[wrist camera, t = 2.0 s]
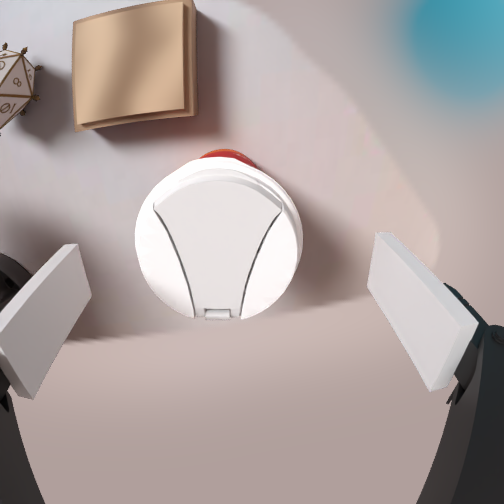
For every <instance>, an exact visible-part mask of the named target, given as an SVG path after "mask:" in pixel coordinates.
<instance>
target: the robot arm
mask: <svg viewBox="0 0 504 504" xmlns="http://www.w3.org/2000/svg"><path fill="white" fill-rule="evenodd" d="M367 288H368V290H369V291H370V293H371V294H372V296H373V297H374V299H375V300H376V302H377V304H378V305H379V307H380V308H381V310H382V312H383V313H384V315H385V316H386V318H387V320H388V321H389V323H390V324H391V326H392V328H393V329H394V331H395V333H396V334H397V336H398V338H399V339H400V341H401V342H402V344H403V346H404V348H405V349H406V351H407V353H408V355H409V356H410V358H411V360H412V362H413V363H414V365H415V367H416V369H417V370H418V372H419V374H420V376H421V378H422V379H423V381H424V383H425V385H426V387H427V388H428V390H429V392H432V391H435V390H438V389H442V388H445V387H447V386H448V384H449V382H450V381H451V379H452V377H453V375H455V376H456V378H457V380H458V381H459V382H458V384H457V386H456V387H455V389H454V390H453V392H452V394H451V396H450V397H449V399H448V401H447V402H446V404H449V403H450V401H451V400H452V402H451V406H450V410H449V414H448V418H447V421H446V425H445V428H444V431H443V435H442V438H441V441H440V444H439V447H438V450H437V453H436V456H435V459H434V461H433V464H432V467H431V470H430V472H429V475H428V477H427V480H426V482H425V485H424V487H423V489H422V492H421V494H420V497H419V499H418V501H417V503H416V504H504V327H502V326H498V325H490V326H489V325H488V324H487V323H486V322H485V321H484V320H483V318H482V317H481V316H480V315H479V314H478V313H477V312H476V311H475V310H474V308H472V306H469V303H468V302H467V301H466V300H465V299H463V297H462V296H461V295H460V294H459V293H458V291H457V290H456V289H454V288H452V287H451V286H449V285H447V284H446V283H442V282H441V281H440V280H439V279H438V278H437V277H436V276H435V275H434V274H433V273H432V272H431V271H430V270H429V269H428V268H427V267H426V266H425V265H424V264H423V263H422V262H421V261H420V260H419V259H418V258H417V257H416V256H415V255H414V254H413V253H412V252H411V251H410V250H409V249H408V248H407V247H406V246H405V245H404V244H403V243H402V242H401V241H400V240H398V239H397V238H396V237H395V236H394V235H393V234H392V233H391V232H377V233H375V240H374V247H373V253H372V259H371V265H370V271H369V277H368V282H367ZM91 297H92V293H91V290H90V287H89V283H88V280H87V276H86V273H85V269H84V265H83V261H82V258H81V254H80V250H79V245H78V244H65V245H64V246H62V247H61V248H60V249H59V250H58V251H57V252H56V253H55V254H54V255H53V256H52V257H51V258H50V259H49V260H48V261H47V262H46V263H45V264H44V265H43V266H42V267H41V268H40V269H39V271H38V272H37V273H36V274H35V275H34V276H33V277H31V276H30V275H29V274H28V272H27V271H26V270H25V269H24V268H23V267H21V266H20V265H19V264H18V263H17V262H15V261H14V260H12V259H11V258H9V257H7V256H5V255H3V254H0V504H45V502H44V500H43V498H42V495H41V493H40V490H39V488H38V485H37V483H36V481H35V478H34V475H33V472H32V469H31V467H30V464H29V461H28V458H27V455H26V452H25V448H24V445H23V442H22V439H21V435H20V431H19V428H18V424H17V420H16V416H15V412H14V407H13V403H12V398H11V396H10V394H9V393H8V391H7V390H8V388H9V386H10V385H11V386H12V387H13V389H14V390H15V392H16V393H17V395H18V396H21V397H24V398H28V399H32V400H33V399H34V397H35V395H36V394H37V392H38V390H39V388H40V385H41V384H42V382H43V380H44V378H45V376H46V374H47V372H48V370H49V368H50V367H51V364H52V363H53V361H54V359H55V357H56V356H57V354H58V352H59V350H60V348H61V347H62V345H63V343H64V341H65V340H66V338H67V336H68V335H69V333H70V331H71V329H72V328H73V326H74V324H75V323H76V321H77V319H78V318H79V316H80V315H81V313H82V311H83V310H84V308H85V306H86V305H87V303H88V302H89V300H90V299H91Z"/></svg>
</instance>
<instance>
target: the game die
mask: <svg viewBox="0 0 504 504" xmlns="http://www.w3.org/2000/svg"><path fill="white" fill-rule="evenodd" d="M7 46H8V45H7V43H5V44H4V45H3V47H2V48H3V50H2V51H0V129H1V128H3V127H4V126H5V125H6V124H7V123H8V122H9V121H10V120H12V119H13V118H14V117H15V116H16V115H18V114H19V113H20V115H21V116H25V111H24V110H23V109H24V107H25V106H26V105H27V104H28V103H29V102H30V101H31V99H33V100H34V101H37V100H40V98H39V95H33V92H34V78H35V71H38V70H40V68H41V67H42V66H40V65H38V66H36V67H35V68H34V67H33V66H32V65H31V64H30V62H29V61H28V60H27V59H26V58H25V57H24V54H26V52H27V47H26V48H23V50H22V51H21V53H17V52H13V51H9V50H6V49H7ZM0 136H1V135H0Z"/></svg>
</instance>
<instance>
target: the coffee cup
mask: <svg viewBox="0 0 504 504" xmlns="http://www.w3.org/2000/svg"><path fill="white" fill-rule="evenodd" d="M135 246H136V251H137V256H138V259H139V263H140V267H141V270H142V273H143V275H144V278H145V280H146V281H147V283H148V285H149V286H150V288H151V289H152V290H153V292H154V293H155V294H156V295H157V297H158V298H159V299H161V300H162V301H163V302H164V303H165V304H166V305H167V306H169V307H170V308H172V309H173V310H175V311H176V312H178V313H180V314H182V315H184V316H187V317H190V318H193V319H195V315H196V316H197V317H205V318H206V320H230V317H234V318H239V316H241V320H242V319H245V318H249V317H251V316H253V315H256V314H258V313H260V312H262V311H263V310H265V309H266V308H268V307H269V306H270V305H272V304H273V303H274V302H275V301H276V300H277V299H278V298H279V297H280V296H281V295H282V294H283V292H284V291H285V290H286V289H287V287H288V285H289V284H290V282H291V280H292V278H293V275H294V273H295V271H296V269H297V267H298V264H299V261H300V258H301V254H302V249H303V230H302V223H301V220H300V217H299V214H298V211H297V209H296V207H295V205H294V203H293V201H292V199H291V198H290V197H289V195H288V194H287V193H286V191H285V190H284V189H283V188H282V187H281V186H280V185H279V184H278V183H277V182H276V181H275V180H274V179H272V178H271V177H269V176H268V175H266V174H265V173H263V172H262V171H260V170H259V169H258V168H257V167H256V166H255V165H254V164H253V162H252V161H251V160H250V159H249V158H247V157H246V156H245V155H243V154H241V153H240V152H237V151H234V150H230V149H219V150H214V151H211V152H209V153H207V154H205V155H204V156H202V157H201V158H199V159H197V160H193V161H190V162H188V163H187V164H185V165H184V166H182V167H181V168H179V169H178V170H176V171H175V172H173V173H172V174H170V175H168V176H167V177H165V178H164V179H163V180H162V181H161V182H160V183H159V184H158V185H156V186H155V187H154V189H153V190H152V191H151V193H150V194H149V195H148V196H147V198H146V200H145V202H144V203H143V205H142V207H141V209H140V212H139V215H138V218H137V222H136V229H135Z"/></svg>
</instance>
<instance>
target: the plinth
mask: <svg viewBox="0 0 504 504" xmlns="http://www.w3.org/2000/svg"><path fill="white" fill-rule="evenodd" d="M72 94H73V113H74V127H75V132H79V131H84V130H89V129H95V128H100V127H106V126H112V125H118V124H125V123H131V122H139V121H146V120H155V119H164V118H173V117H184V116H195V115H198V93H197V43H196V7H195V4H194V1H193V0H164V1H157V2H151V3H145V4H140V5H135V6H130V7H125V8H121V9H117V10H112V11H108V12H105V13H101V14H97V15H93V16H90V17H87V18H83V19H80V20H77V21H74V22H73V37H72Z"/></svg>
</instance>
